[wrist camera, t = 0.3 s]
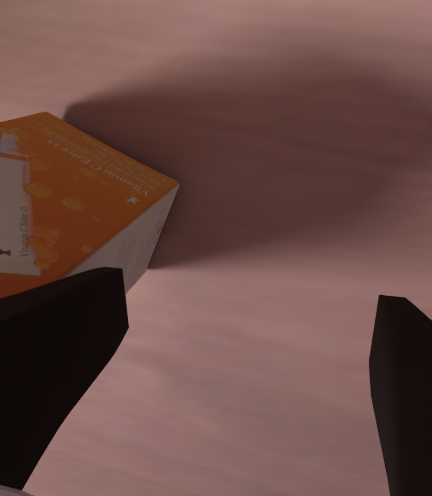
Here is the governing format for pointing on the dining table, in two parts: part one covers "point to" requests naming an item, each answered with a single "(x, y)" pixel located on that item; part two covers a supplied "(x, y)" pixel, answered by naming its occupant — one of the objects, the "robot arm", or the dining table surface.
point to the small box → (73, 205)
